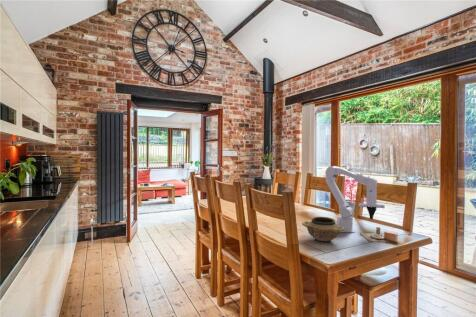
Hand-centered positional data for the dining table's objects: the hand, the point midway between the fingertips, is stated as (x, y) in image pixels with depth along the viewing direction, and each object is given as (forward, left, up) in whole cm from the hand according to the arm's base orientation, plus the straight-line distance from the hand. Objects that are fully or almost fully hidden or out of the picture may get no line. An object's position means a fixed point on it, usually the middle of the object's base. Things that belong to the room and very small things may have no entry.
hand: (371, 218), depth 173 cm
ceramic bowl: (-33, -15, -11) cm, 38 cm away
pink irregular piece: (+4, -7, -10) cm, 13 cm away
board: (+2, -5, -10) cm, 12 cm away
